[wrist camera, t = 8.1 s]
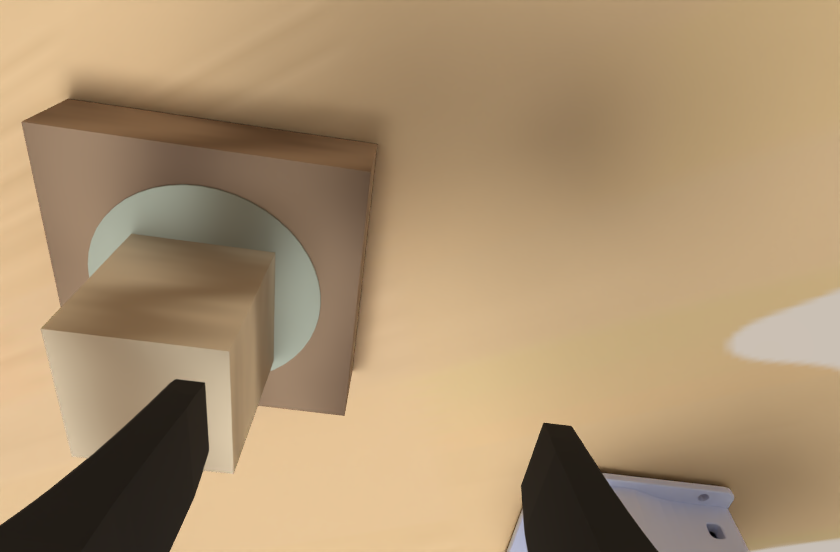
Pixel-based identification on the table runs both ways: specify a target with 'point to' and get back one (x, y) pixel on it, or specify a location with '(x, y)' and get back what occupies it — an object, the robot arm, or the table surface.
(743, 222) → the table surface
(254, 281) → the block
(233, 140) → the plinth
